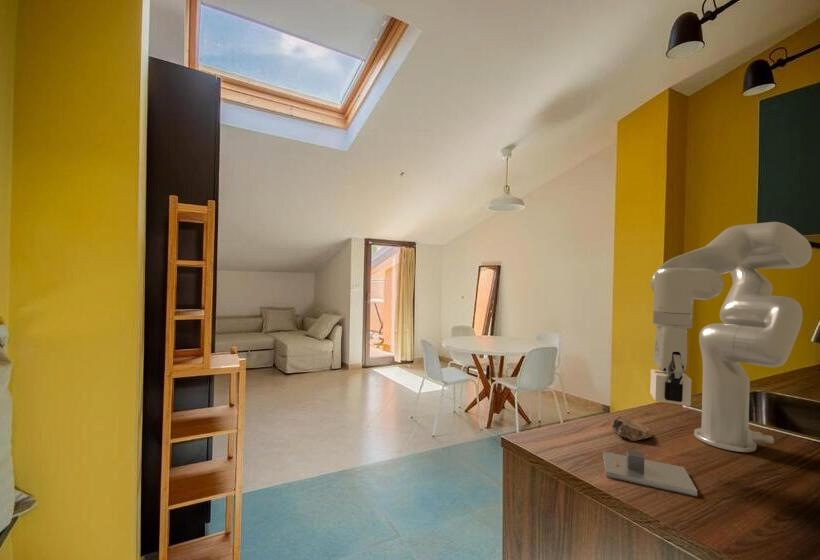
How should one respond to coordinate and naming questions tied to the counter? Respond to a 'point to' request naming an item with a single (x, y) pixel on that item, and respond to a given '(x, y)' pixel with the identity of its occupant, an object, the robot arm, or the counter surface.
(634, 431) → the rock
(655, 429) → the counter surface
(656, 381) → the orange-striped white cube
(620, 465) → the plate
